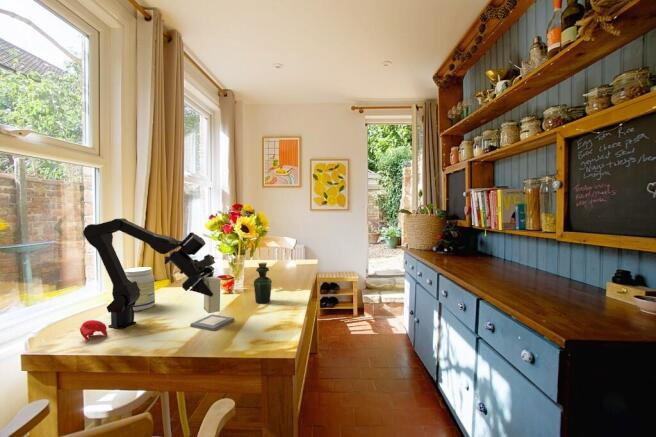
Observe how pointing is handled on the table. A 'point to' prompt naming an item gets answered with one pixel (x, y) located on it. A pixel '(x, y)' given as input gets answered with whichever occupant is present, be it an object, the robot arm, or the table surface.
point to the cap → (92, 328)
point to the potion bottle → (262, 285)
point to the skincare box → (213, 302)
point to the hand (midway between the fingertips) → (215, 292)
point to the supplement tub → (143, 286)
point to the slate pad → (212, 322)
